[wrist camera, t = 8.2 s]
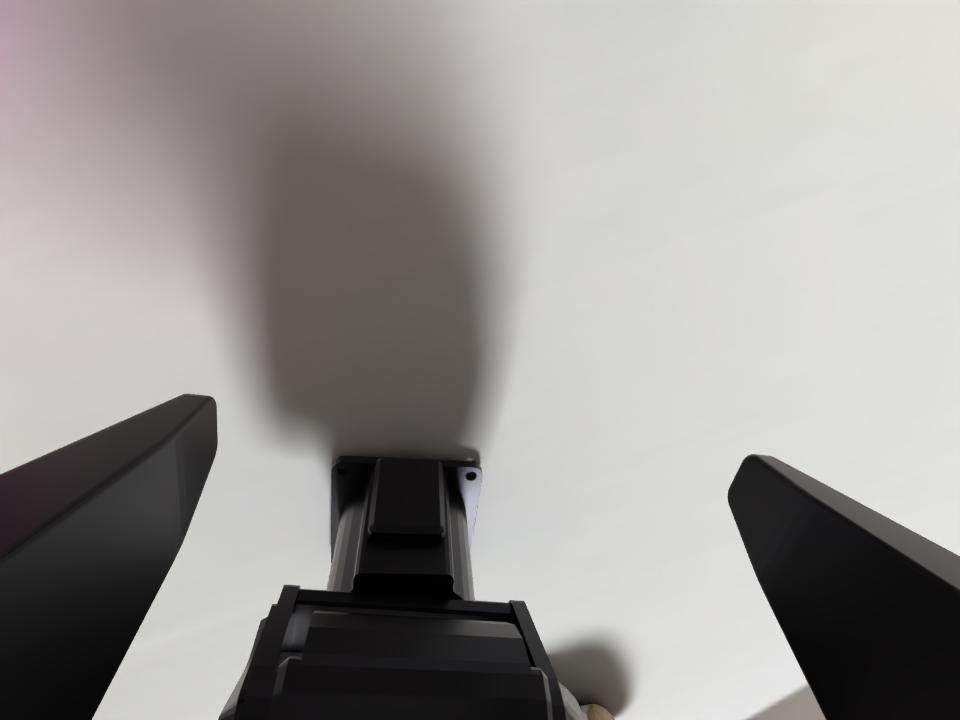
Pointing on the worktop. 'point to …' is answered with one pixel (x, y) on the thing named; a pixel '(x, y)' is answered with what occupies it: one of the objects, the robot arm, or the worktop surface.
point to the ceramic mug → (582, 708)
